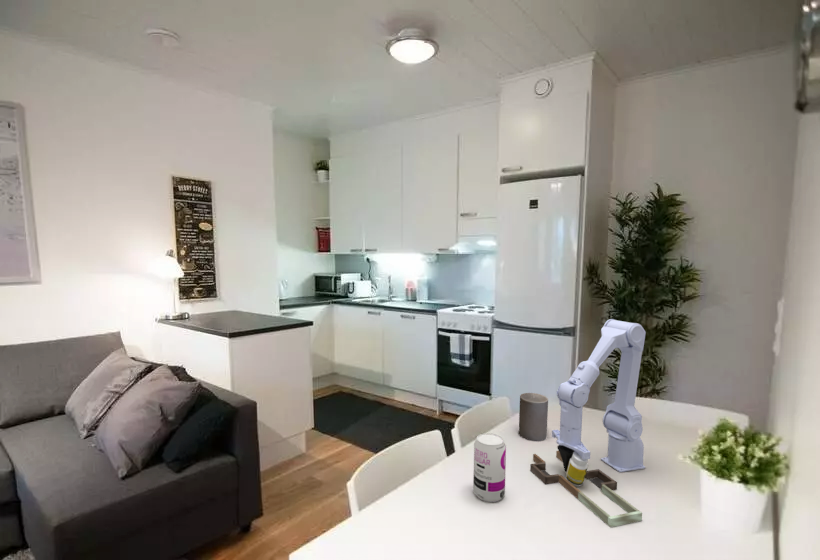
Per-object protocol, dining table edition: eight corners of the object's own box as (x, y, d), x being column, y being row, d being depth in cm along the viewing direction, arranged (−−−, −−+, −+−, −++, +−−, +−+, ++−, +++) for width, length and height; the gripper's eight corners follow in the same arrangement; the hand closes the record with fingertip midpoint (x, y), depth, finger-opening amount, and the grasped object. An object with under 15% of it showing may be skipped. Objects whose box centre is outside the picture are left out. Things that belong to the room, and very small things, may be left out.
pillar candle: (512, 432, 146) (513, 391, 145) (532, 427, 150) (533, 387, 149) (533, 443, 137) (534, 400, 136) (553, 437, 142) (554, 395, 141)
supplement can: (506, 488, 110) (507, 434, 109) (502, 506, 102) (504, 448, 102) (476, 483, 113) (477, 430, 112) (470, 499, 105) (471, 443, 104)
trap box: (569, 455, 129) (570, 449, 129) (655, 518, 98) (656, 510, 98) (520, 462, 125) (521, 455, 125) (595, 530, 94) (595, 522, 94)
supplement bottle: (584, 488, 111) (591, 464, 108) (566, 484, 112) (573, 460, 109) (581, 475, 116) (587, 451, 113) (564, 471, 116) (570, 448, 113)
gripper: (543, 416, 121) (541, 460, 122) (575, 437, 107) (572, 487, 108) (564, 414, 123) (562, 458, 124) (597, 435, 109) (595, 484, 110)
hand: (568, 471), depth 116 cm, fingers closed, pressing on supplement bottle
